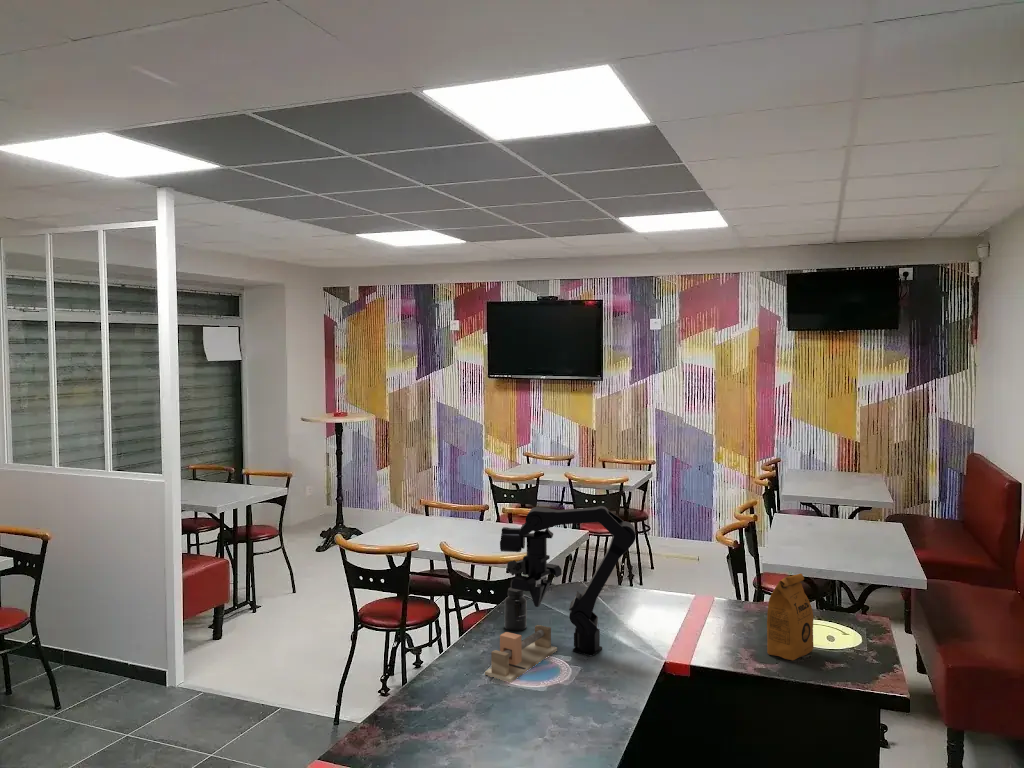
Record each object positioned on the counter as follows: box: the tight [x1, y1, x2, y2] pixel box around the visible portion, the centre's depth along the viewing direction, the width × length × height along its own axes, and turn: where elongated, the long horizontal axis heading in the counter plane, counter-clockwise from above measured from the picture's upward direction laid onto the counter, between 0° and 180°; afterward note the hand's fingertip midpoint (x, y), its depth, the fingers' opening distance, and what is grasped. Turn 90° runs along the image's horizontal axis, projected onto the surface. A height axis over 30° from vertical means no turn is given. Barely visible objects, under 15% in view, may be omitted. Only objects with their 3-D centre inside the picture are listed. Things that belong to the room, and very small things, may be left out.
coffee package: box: [766, 573, 815, 661], centre depth 204 cm, size 10×12×22 cm
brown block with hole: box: [499, 631, 523, 665], centre depth 195 cm, size 3×5×7 cm, turn 56°
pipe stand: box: [484, 624, 558, 683], centre depth 200 cm, size 24×8×6 cm, turn 146°
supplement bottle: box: [504, 587, 528, 632], centre depth 226 cm, size 7×7×12 cm
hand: (537, 606), depth 210 cm, fingers closed
